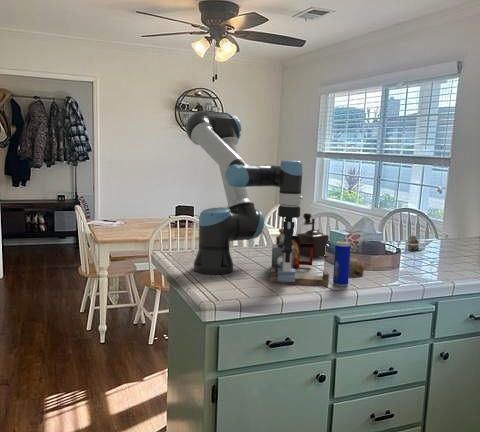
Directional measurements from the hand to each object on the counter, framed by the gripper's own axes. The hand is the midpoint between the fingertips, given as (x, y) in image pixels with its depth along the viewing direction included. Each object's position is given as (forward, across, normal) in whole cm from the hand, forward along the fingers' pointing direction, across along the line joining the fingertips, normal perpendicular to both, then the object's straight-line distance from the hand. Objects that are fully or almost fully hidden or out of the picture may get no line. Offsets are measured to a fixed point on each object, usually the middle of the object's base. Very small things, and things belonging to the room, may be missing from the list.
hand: (286, 267), depth 169 cm
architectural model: (+6, +74, -63) cm, 97 cm away
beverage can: (+5, 0, -19) cm, 20 cm away
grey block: (+5, +13, +2) cm, 14 cm away
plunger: (-5, +13, +2) cm, 14 cm away
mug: (+5, +24, -2) cm, 25 cm away
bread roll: (+5, +17, -24) cm, 30 cm away
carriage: (+5, 0, 0) cm, 5 cm away
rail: (+5, 0, -4) cm, 7 cm away
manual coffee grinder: (+5, +51, -10) cm, 52 cm away
